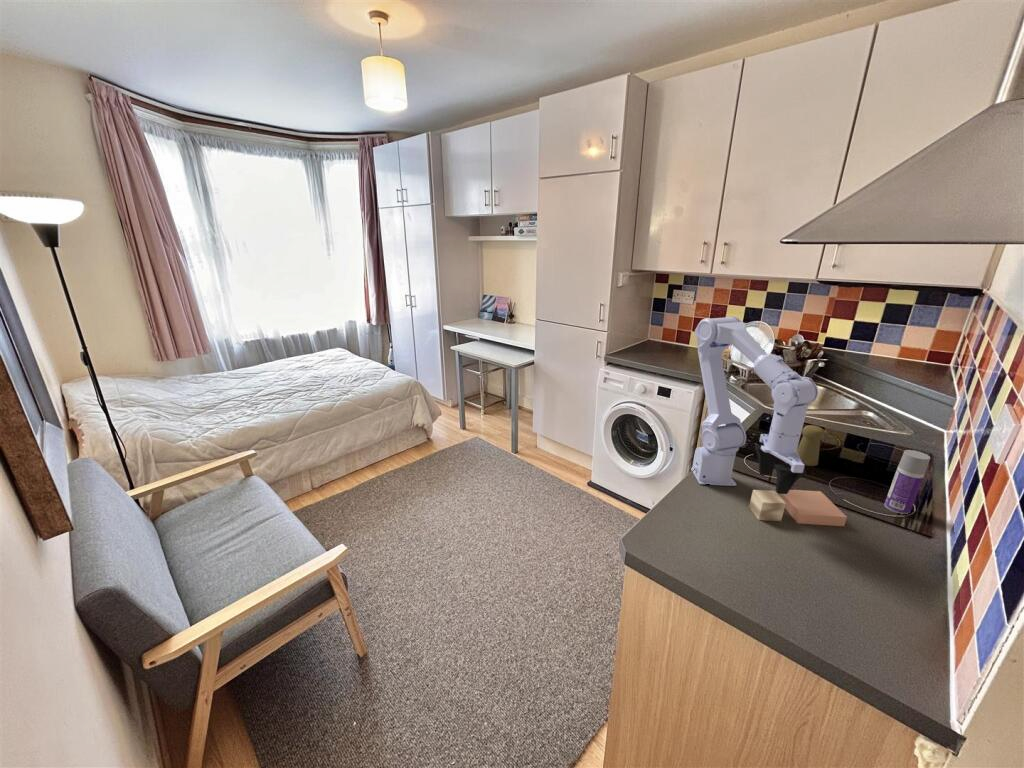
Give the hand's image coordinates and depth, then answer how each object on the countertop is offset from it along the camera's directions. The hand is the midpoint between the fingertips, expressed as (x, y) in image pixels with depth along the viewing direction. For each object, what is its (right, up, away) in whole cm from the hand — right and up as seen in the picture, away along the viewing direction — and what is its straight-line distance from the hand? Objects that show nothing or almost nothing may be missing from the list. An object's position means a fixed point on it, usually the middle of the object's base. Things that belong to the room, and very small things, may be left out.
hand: (772, 483), depth 95 cm
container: (+33, -7, +5) cm, 34 cm away
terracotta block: (+11, -8, +4) cm, 14 cm away
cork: (+26, 0, +26) cm, 37 cm away
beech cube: (0, -8, +3) cm, 9 cm away
